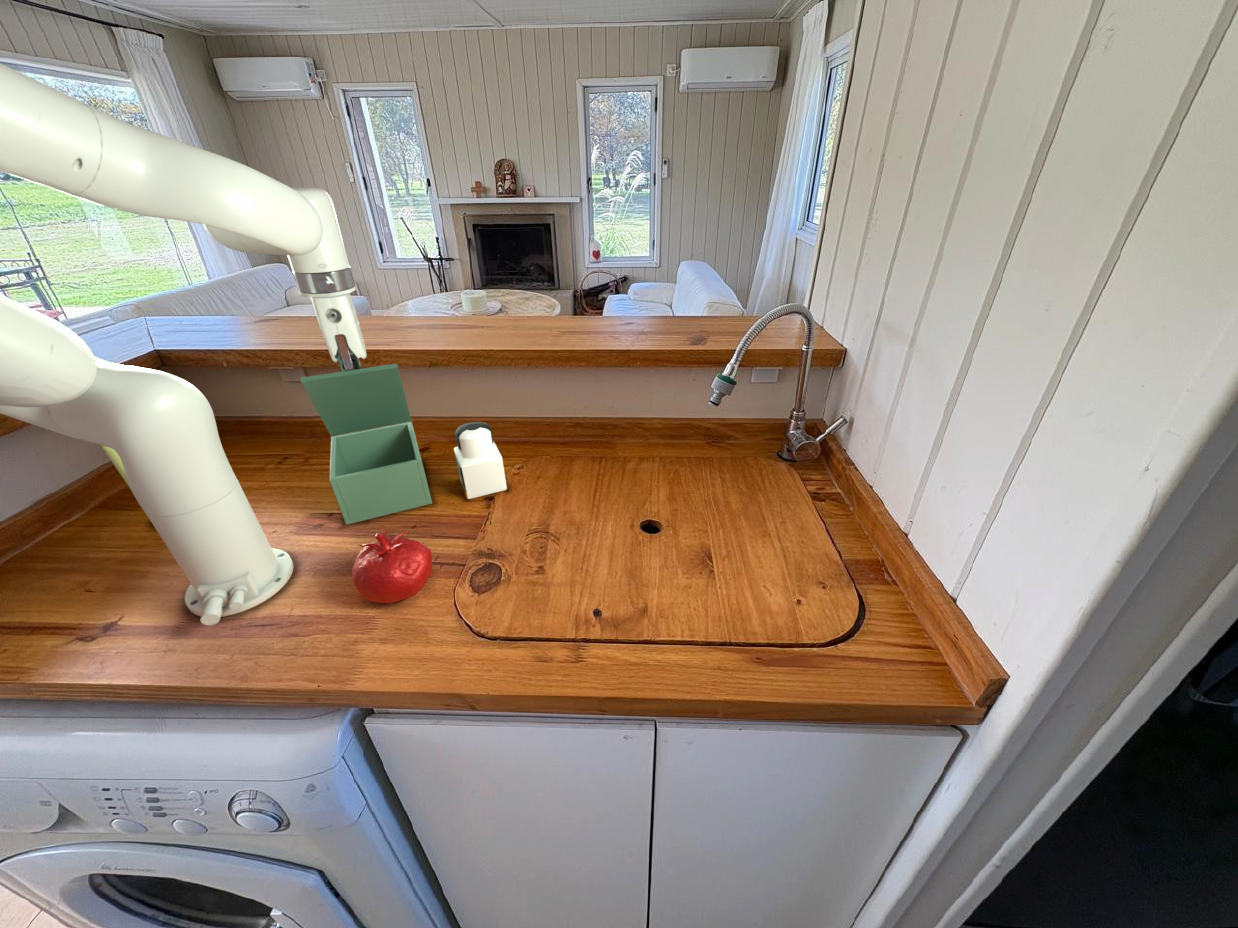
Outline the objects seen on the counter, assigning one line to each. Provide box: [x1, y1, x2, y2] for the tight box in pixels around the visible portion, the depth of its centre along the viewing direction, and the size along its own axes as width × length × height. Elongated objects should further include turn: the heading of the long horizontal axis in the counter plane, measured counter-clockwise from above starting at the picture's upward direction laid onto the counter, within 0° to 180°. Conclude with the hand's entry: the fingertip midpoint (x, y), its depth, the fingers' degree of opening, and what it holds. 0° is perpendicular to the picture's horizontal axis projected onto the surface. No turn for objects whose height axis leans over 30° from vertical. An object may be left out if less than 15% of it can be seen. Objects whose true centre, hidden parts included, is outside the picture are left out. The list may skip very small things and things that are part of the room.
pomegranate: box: [351, 529, 433, 604], centre depth 67 cm, size 10×10×9 cm
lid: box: [299, 363, 412, 437], centre depth 84 cm, size 16×14×1 cm
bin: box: [329, 421, 433, 526], centre depth 87 cm, size 16×14×9 cm
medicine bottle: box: [453, 421, 508, 500], centre depth 88 cm, size 7×7×12 cm
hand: (359, 395), depth 84 cm, fingers closed
